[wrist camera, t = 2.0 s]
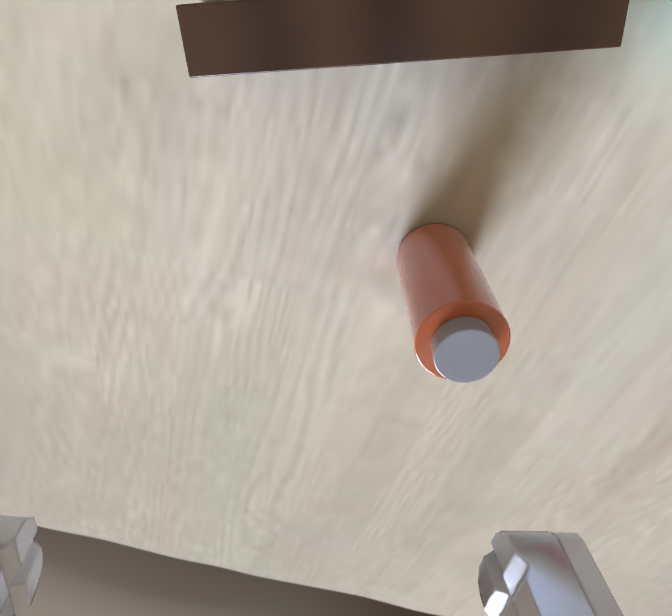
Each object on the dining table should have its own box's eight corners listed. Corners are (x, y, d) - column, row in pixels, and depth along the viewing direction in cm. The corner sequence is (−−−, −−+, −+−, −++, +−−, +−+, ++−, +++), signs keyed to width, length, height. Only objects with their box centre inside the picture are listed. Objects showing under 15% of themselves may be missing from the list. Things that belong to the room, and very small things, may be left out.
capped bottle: (471, 220, 34) (523, 311, 25) (467, 287, 37) (512, 393, 27) (396, 225, 34) (417, 317, 25) (396, 290, 37) (416, 398, 27)
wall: (589, -28, 27) (635, -31, 23) (579, 38, 29) (621, 47, 24) (200, 2, 28) (175, 4, 24) (211, 65, 30) (189, 77, 25)
